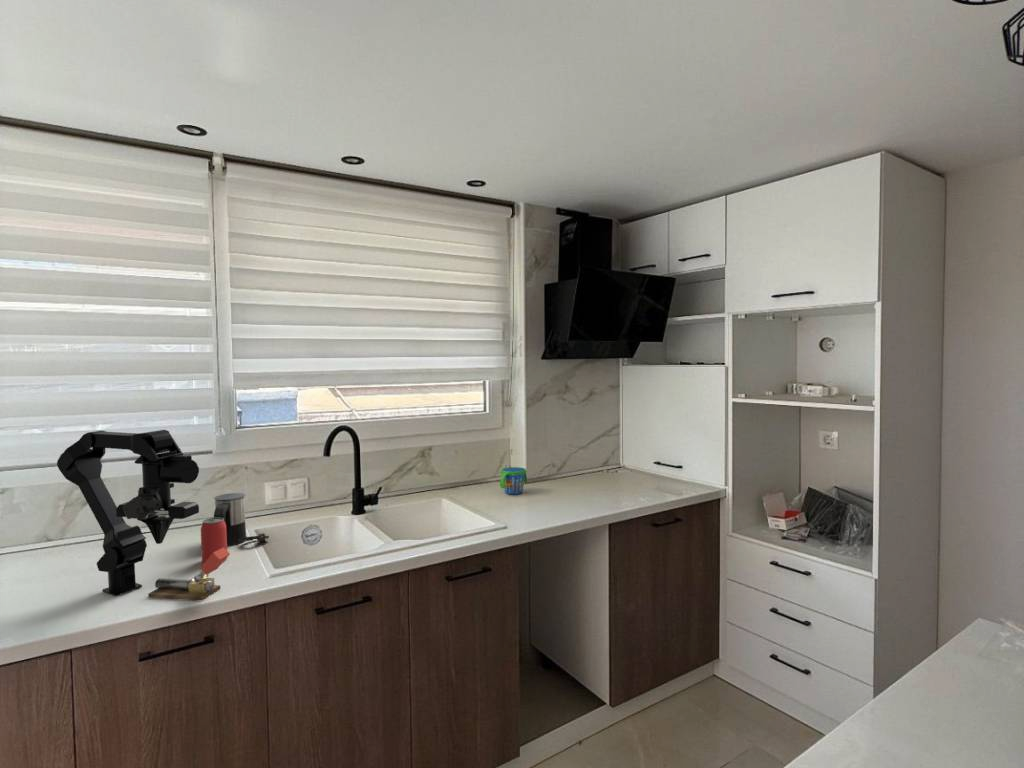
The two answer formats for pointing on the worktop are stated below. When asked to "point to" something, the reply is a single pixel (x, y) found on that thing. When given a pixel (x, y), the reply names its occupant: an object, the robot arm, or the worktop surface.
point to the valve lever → (212, 563)
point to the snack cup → (513, 480)
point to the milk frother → (234, 517)
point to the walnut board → (180, 594)
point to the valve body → (186, 585)
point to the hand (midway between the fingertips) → (159, 543)
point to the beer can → (213, 536)
